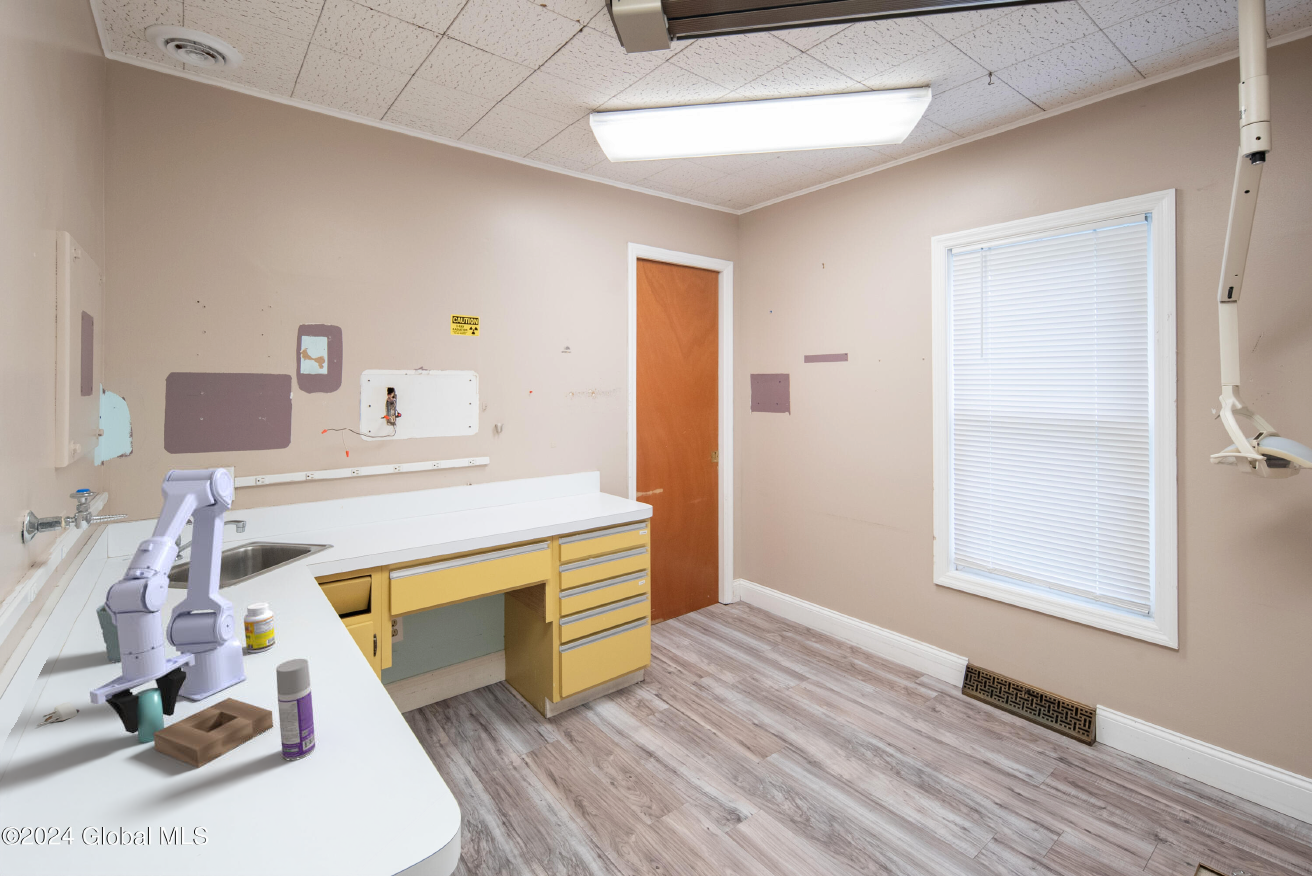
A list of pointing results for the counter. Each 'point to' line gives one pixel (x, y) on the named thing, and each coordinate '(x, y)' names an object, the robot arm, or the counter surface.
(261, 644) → the supplement bottle
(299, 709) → the container
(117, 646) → the green plant pot
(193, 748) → the socket block
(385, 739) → the counter surface
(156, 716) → the peg
